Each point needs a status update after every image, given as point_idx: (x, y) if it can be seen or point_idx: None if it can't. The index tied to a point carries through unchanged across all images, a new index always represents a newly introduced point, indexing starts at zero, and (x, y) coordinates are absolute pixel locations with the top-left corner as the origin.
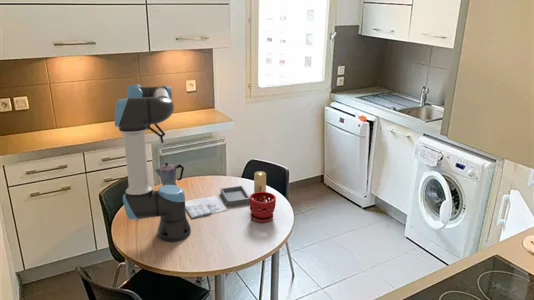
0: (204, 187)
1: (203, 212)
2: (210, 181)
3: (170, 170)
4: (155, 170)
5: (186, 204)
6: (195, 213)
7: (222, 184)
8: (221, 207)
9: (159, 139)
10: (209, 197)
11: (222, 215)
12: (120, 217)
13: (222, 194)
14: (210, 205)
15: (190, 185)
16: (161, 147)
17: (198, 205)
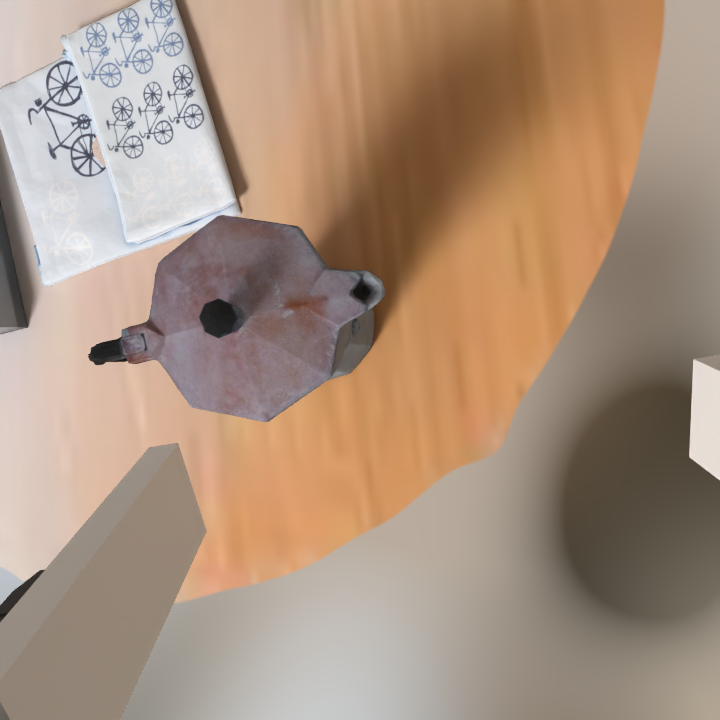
0: (119, 427)
1: (102, 36)
2: (87, 513)
3: (198, 233)
4: (378, 290)
5: (205, 153)
6: (150, 36)
7: (19, 455)
8: (16, 124)
9: (29, 634)
10: (82, 263)
11: (16, 37)
12: (649, 12)
13: (4, 279)
14: (78, 162)
15: (205, 473)
16: (153, 467)
17: (138, 150)
